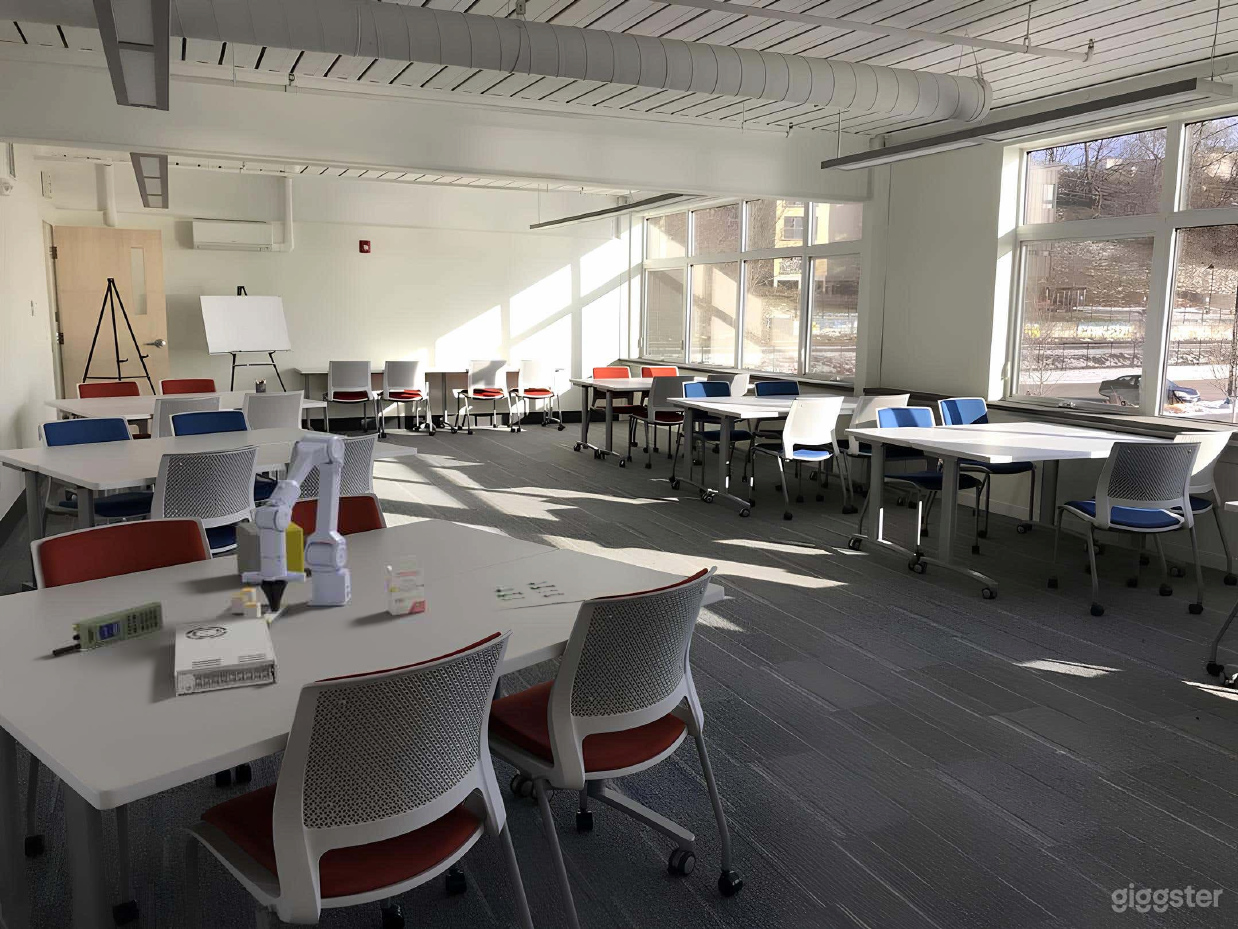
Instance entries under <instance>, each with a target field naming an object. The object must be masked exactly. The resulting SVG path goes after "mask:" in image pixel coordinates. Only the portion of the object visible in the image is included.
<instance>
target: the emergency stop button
mask: <svg viewBox="0 0 1238 929" xmlns="http://www.w3.org/2000/svg"><path fill="white" fill-rule="evenodd" d="M313 533H314V532H311V533H310V534H309V535H307V534H306V535H304V530H303V528H302V527H301V526H299V525H297V524H296V523H294V522H292V521H290V525H289V526H288V527H287V529H286V530H285V534H286V565H287V571H291V572H300V573H305V568H304V567H305V561H304V556H303V555H304V550H305V547H306V544H307V538H308V537H309V536H310V535H312V534H313ZM235 535H236V536H235V537H236V538H235V541H236V560H237V562H236V563H237V573H238V574H239V575H240V576H241V577H242V574H243V573H245V572H260V571H261V550H260V537H259V536H258V532H257V528H256V527H255V524H254V521H252V522H251V521H249V522H240V523H239V522H238V523H237V524H236V525H235ZM320 543H325V544H331V543H326V542H320ZM246 583H248V584H249V585H251V586H258V585H257V584H259V585H262V581H247V582H246Z"/></svg>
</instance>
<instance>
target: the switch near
mask: <svg viewBox="0 0 1238 929" xmlns="http://www.w3.org/2000/svg"><path fill="white" fill-rule="evenodd" d="M260 604H261V602H259V601H256V602H248V603H247V604H246V605H245V606H244V618H252V617H261V605H260Z"/></svg>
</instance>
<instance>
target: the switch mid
mask: <svg viewBox="0 0 1238 929" xmlns="http://www.w3.org/2000/svg"><path fill="white" fill-rule="evenodd" d="M230 602H231V604H230V606H231V608H232V613H244V606H245V605H246V604H247V603H248V596H246V595H240V594H236V595H234V596H233V597H232V598H231V599H230Z"/></svg>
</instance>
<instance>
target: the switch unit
mask: <svg viewBox="0 0 1238 929" xmlns="http://www.w3.org/2000/svg"><path fill="white" fill-rule="evenodd" d="M260 605H261V616H265V619H266V623H267V627H268V629H270V628H272V626H273V625H274V624H275V623H276V622H277V621H278V620H279V619H280V618H281V617H282V616H283V615H284V614H285V613H286V612H287V611H288V610H289V609H290V603H284V602H282V603H280V609H279V611H277V612H271V608H270V605H269V603H260ZM285 611H286V612H285ZM282 614H283V615H282ZM242 618H244V613H232V608H231V605H230V606H228V607H227V608H225V610H224V611H222V612H221V613H219V615H217V616H216V617H215V618H214V619H213V620H211V621H210V622H213V621H222V620H232V619H242Z"/></svg>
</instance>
